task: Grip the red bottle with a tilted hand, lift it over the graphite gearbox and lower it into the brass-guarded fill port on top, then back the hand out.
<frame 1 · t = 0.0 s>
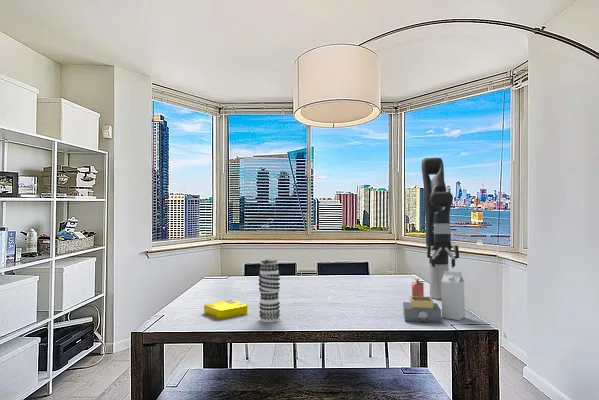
hand: (443, 267, 194), 17 cm above the table, tool pointing down, fingers open, 8 cm apart
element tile: (225, 314, 181), on the table
red bottle: (418, 309, 183), on the table
gearbox: (421, 318, 169), on the table
milk carton: (453, 318, 170), on the table
decorative candle: (269, 319, 170), on the table
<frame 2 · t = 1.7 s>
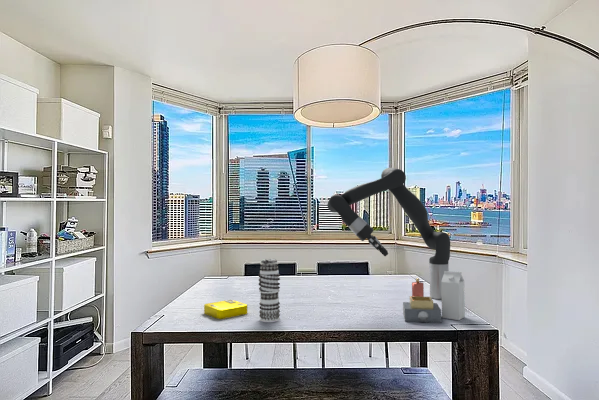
hand: (386, 254, 186), 25 cm above the table, tool tilted 45°, fingers open, 8 cm apart
nothing on the table moved.
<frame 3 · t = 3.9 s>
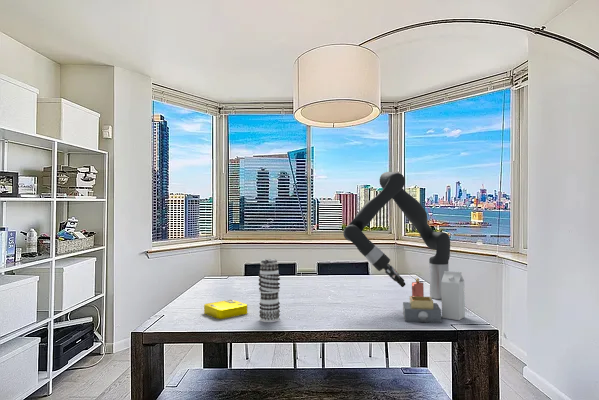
hand: (403, 284, 184), 11 cm above the table, tool tilted 45°, fingers open, 8 cm apart
nothing on the table moved.
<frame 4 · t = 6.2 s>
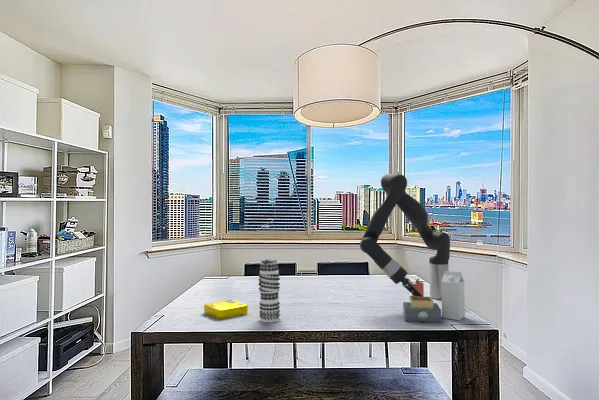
hand: (422, 298, 183), 5 cm above the table, tool tilted 45°, fingers closed on red bottle, 5 cm apart
red bottle: (418, 309, 183), on the table, touching gripper
everything else where it was.
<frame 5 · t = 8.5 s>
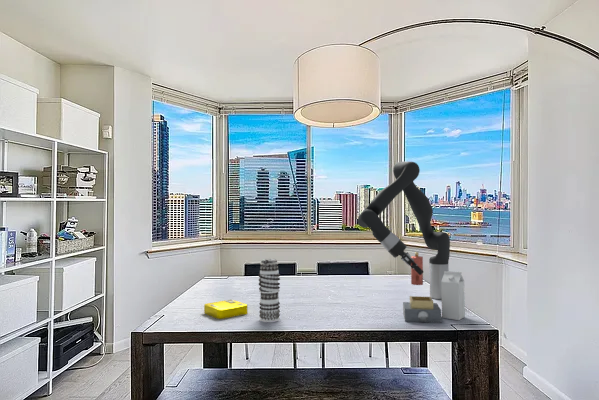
hand: (421, 272, 180), 17 cm above the table, tool tilted 45°, fingers closed on red bottle, 5 cm apart
red bottle: (417, 284, 180), point 12 cm above the table, touching gripper
everything else where it was.
when the fingers open (12 cm above the table, at t = 10.9 s): red bottle drops 1 cm, resting on gearbox.
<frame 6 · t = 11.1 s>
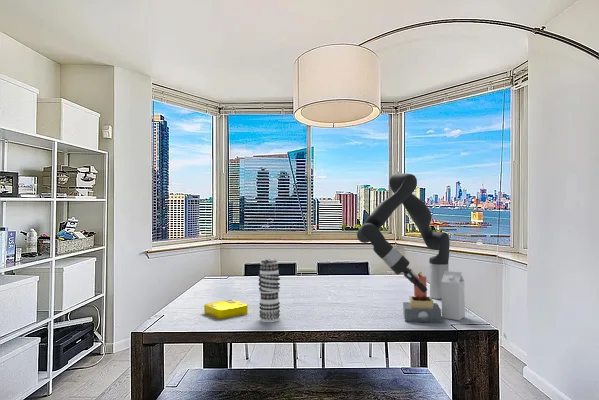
hand: (424, 289, 169), 12 cm above the table, tool tilted 45°, fingers open, 7 cm apart
red bottle: (420, 305, 169), point 5 cm above the table, touching gearbox
everything else where it was.
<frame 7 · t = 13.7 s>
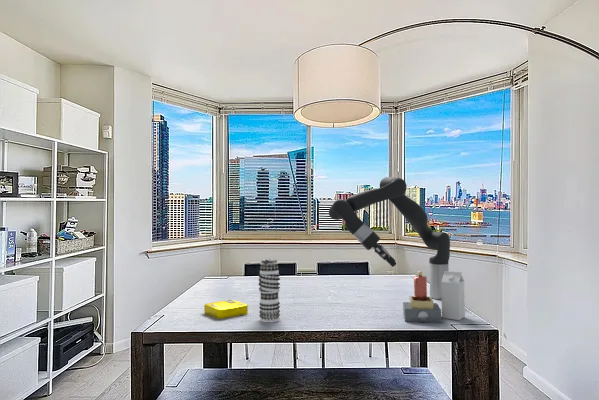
hand: (394, 263, 172), 22 cm above the table, tool tilted 45°, fingers open, 8 cm apart
nothing on the table moved.
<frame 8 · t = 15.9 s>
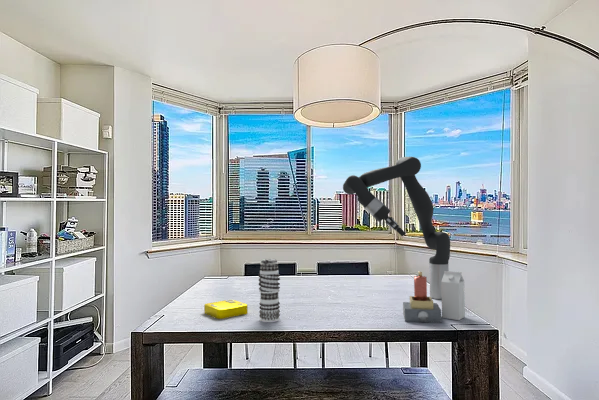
hand: (403, 234, 186), 34 cm above the table, tool tilted 45°, fingers open, 8 cm apart
nothing on the table moved.
at the end: red bottle 0.2 cm off-centre on the gearbox, point 5.0 cm above the gearbox's base; red bottle tilted 0°; the gripper is holding nothing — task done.
